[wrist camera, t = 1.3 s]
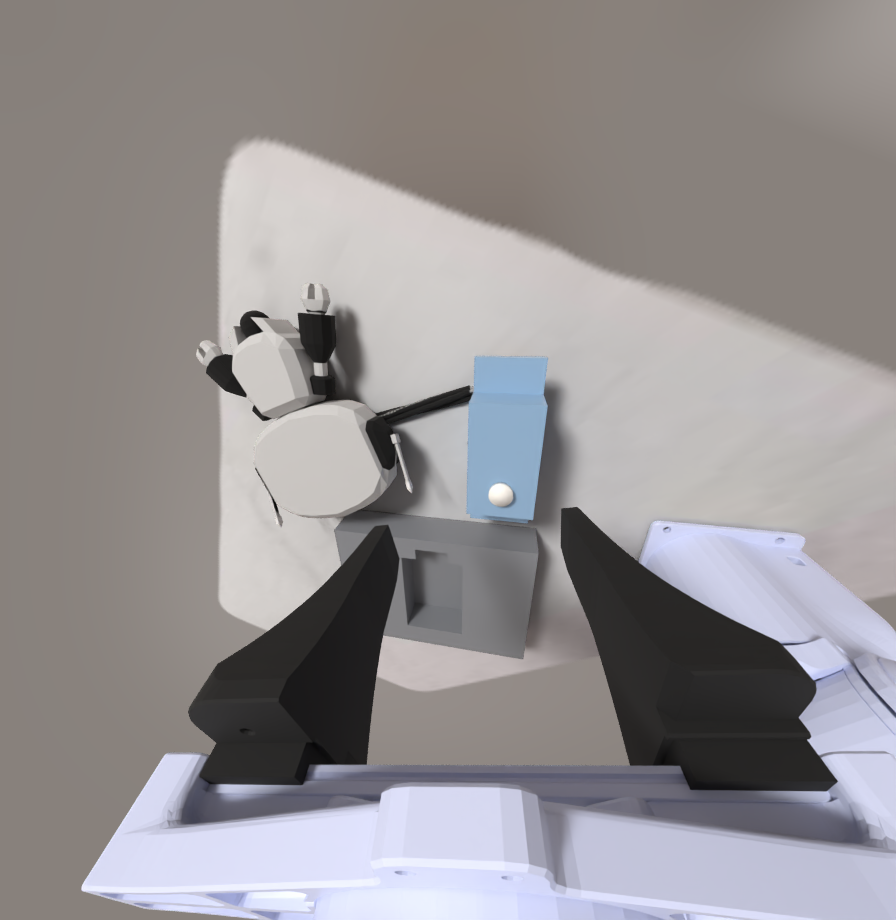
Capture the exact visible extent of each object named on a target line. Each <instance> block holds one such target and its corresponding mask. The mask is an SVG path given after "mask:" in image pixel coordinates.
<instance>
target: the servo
mask: <svg viewBox="0 0 896 920" xmlns="http://www.w3.org/2000/svg"><path fill="white" fill-rule="evenodd" d="M547 362H548V358H547V357H529V356H475V365H474V393H473V395H472V397H471V399H470V401H469V419H468V469H467V514H471V515H470V518H479V519H489V520H499V521H508V522H518V523H528V520H533V516H534V508H535V500H536V492H537V485H538V477H539V469H540V462H541V454H542V446H543V438H544V431H545V423H546V415H547V408H548V405H547V403H546V400H545V397H544V386H545V378H546V370H547Z"/></svg>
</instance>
